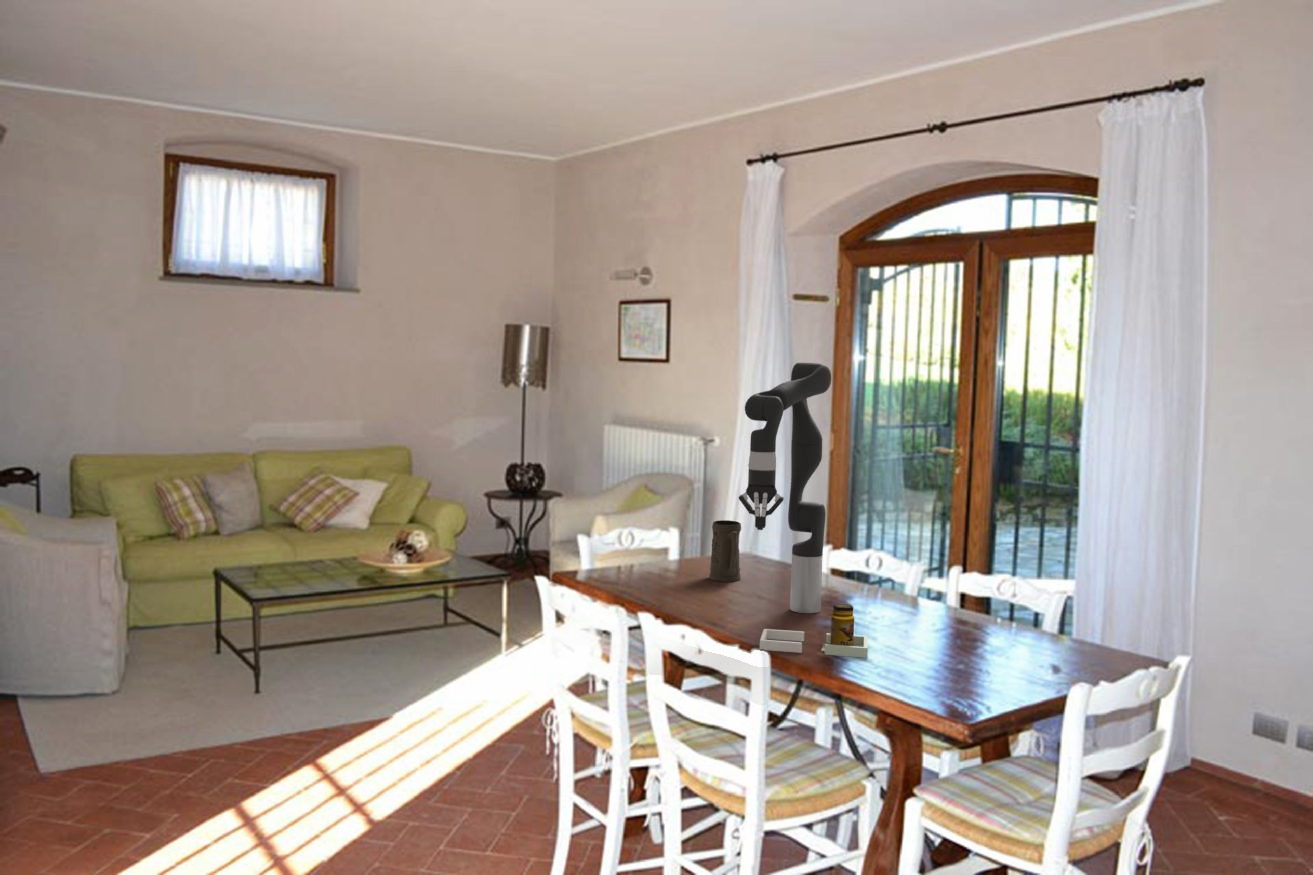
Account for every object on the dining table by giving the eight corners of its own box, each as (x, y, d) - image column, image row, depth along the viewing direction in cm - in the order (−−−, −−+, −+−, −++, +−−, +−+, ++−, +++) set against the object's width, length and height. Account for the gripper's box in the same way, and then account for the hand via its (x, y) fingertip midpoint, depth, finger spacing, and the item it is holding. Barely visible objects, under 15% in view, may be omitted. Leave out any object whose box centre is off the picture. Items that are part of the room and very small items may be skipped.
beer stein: (702, 575, 386) (706, 519, 383) (730, 573, 391) (733, 518, 388) (723, 588, 373) (727, 529, 370) (751, 585, 377) (755, 528, 374)
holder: (763, 637, 306) (764, 628, 306) (803, 640, 304) (804, 631, 304) (759, 649, 294) (759, 640, 294) (801, 652, 292) (801, 643, 292)
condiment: (853, 654, 292) (855, 609, 291) (820, 651, 294) (822, 606, 293) (855, 647, 299) (857, 603, 298) (823, 644, 301) (825, 600, 300)
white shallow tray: (826, 642, 303) (826, 633, 303) (867, 645, 301) (867, 636, 301) (824, 654, 291) (825, 645, 291) (867, 657, 289) (867, 648, 289)
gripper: (787, 467, 311) (784, 528, 312) (739, 465, 313) (737, 526, 315) (785, 470, 304) (783, 533, 305) (736, 468, 306) (734, 530, 307)
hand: (760, 529), depth 310 cm, fingers closed
